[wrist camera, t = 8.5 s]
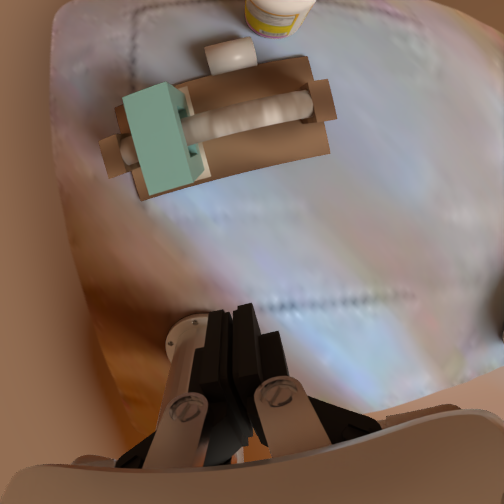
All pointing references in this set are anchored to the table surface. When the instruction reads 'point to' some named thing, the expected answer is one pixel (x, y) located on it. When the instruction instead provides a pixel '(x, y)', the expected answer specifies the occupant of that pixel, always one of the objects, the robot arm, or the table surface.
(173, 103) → the collar
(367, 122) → the table surface
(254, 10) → the supplement bottle
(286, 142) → the pipe rig
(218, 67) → the sleeve
